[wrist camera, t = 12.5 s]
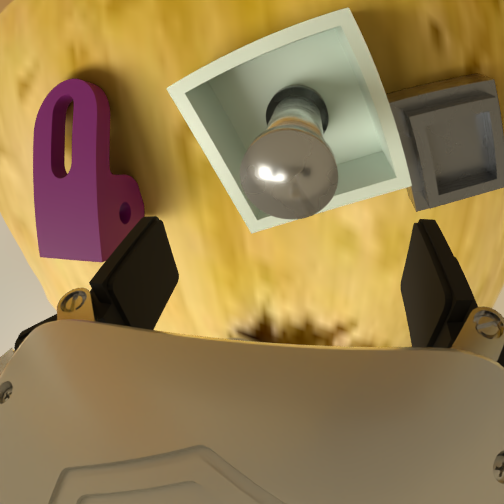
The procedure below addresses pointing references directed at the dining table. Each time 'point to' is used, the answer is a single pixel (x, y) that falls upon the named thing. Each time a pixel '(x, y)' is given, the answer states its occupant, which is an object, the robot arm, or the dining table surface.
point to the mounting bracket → (80, 179)
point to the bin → (308, 74)
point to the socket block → (450, 139)
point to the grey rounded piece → (291, 157)
